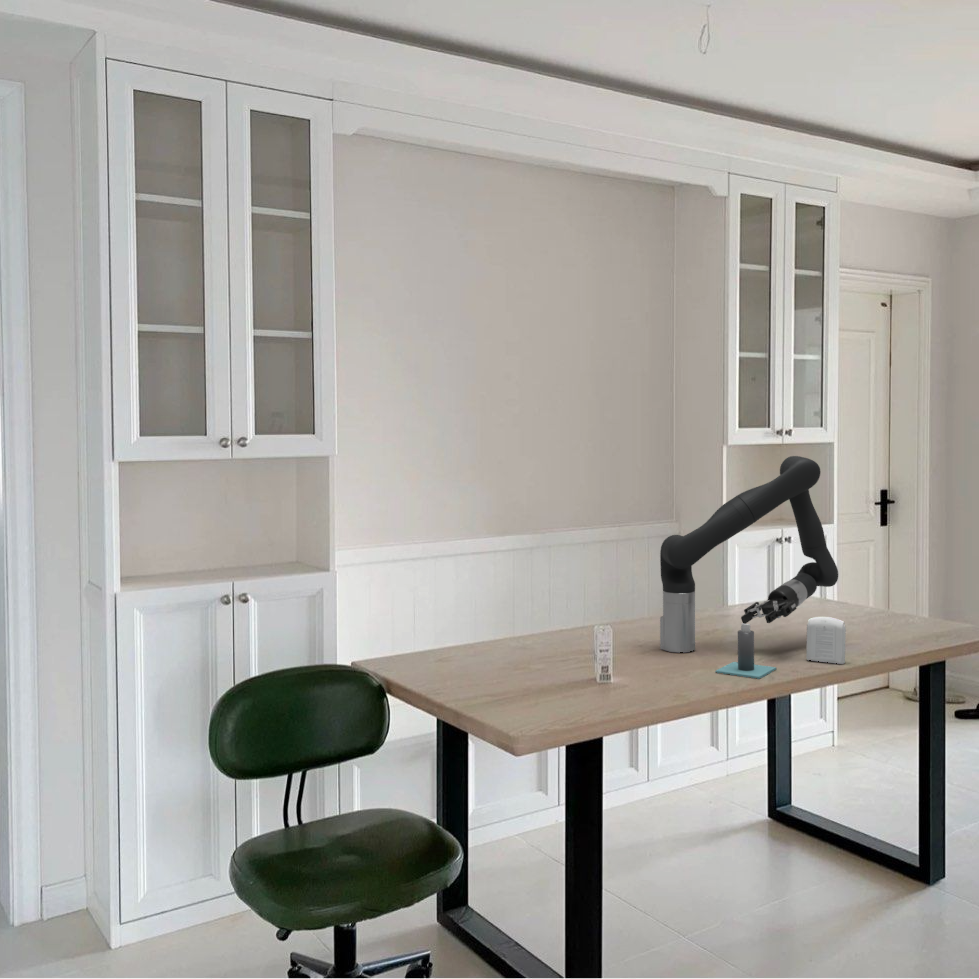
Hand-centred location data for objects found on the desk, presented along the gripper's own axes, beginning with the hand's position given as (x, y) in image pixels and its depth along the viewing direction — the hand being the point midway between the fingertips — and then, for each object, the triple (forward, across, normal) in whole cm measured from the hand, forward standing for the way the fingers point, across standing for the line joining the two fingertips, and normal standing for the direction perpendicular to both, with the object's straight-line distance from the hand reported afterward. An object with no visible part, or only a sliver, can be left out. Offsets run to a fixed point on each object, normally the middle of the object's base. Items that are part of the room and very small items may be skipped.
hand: (754, 620), depth 284 cm
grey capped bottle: (+15, +6, +7) cm, 18 cm away
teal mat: (+16, +6, +8) cm, 18 cm away
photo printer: (-8, +12, +16) cm, 22 cm away
